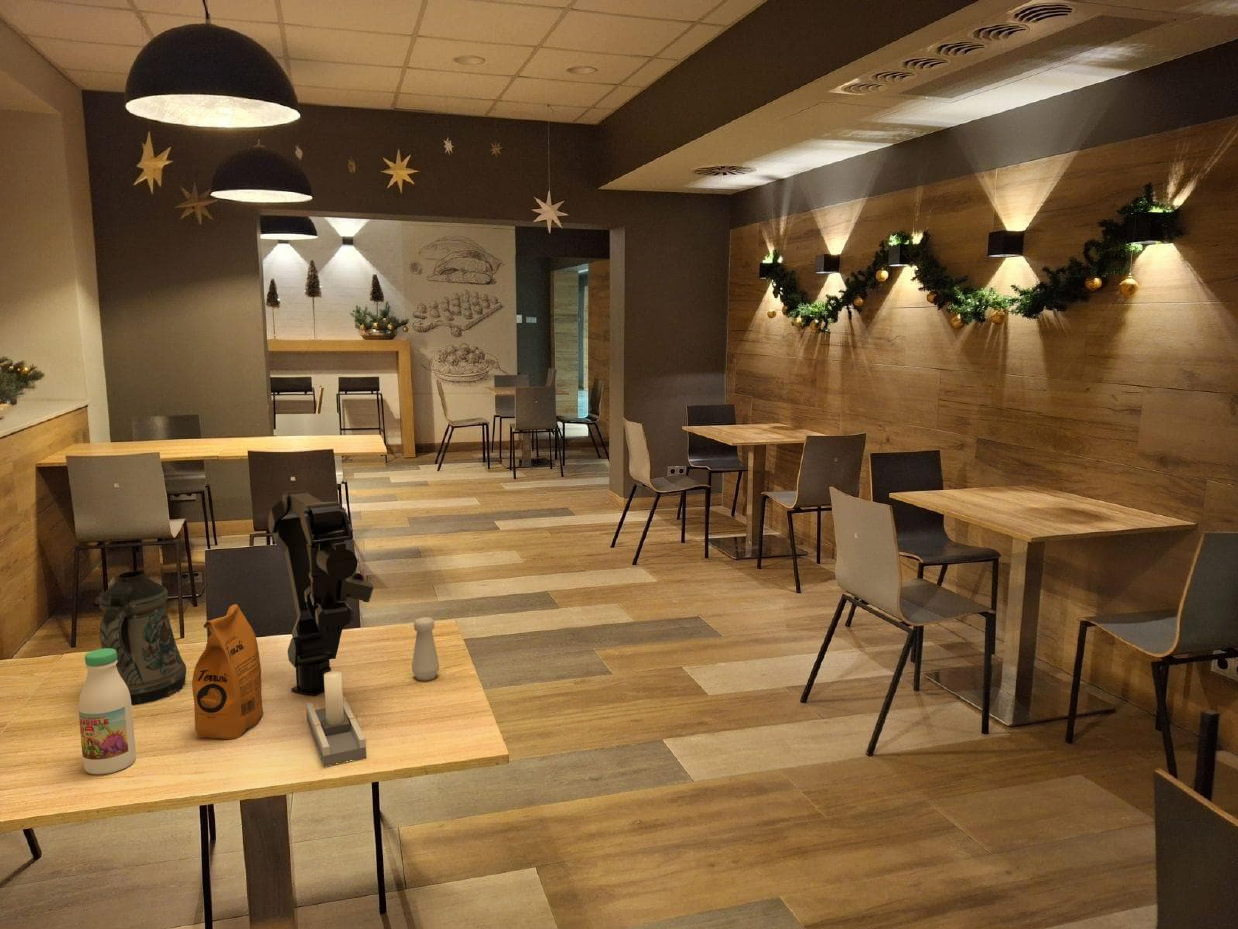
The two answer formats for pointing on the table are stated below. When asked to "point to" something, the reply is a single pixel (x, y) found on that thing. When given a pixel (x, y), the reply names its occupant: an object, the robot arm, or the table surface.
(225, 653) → the coffee package
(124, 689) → the milk bottle
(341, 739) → the fader console
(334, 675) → the fader slider
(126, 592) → the beer stein
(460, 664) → the table surface
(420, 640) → the salt shaker
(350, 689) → the table surface
